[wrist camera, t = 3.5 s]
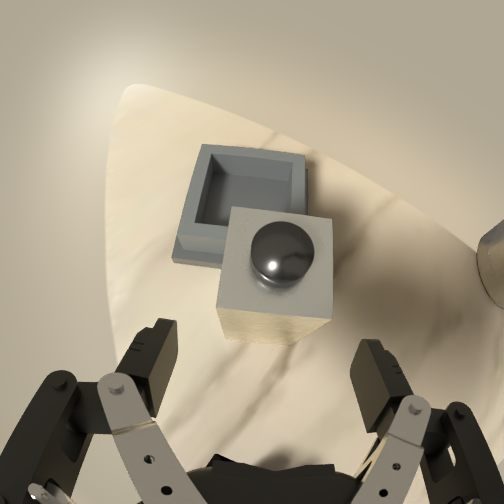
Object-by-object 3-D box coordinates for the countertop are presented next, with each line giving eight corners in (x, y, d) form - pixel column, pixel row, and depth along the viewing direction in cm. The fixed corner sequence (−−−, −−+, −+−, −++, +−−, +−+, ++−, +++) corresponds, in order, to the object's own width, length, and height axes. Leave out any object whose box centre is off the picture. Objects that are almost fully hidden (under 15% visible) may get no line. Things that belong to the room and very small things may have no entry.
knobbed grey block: (292, 286, 22) (338, 207, 12) (288, 345, 20) (340, 313, 10) (233, 279, 22) (231, 193, 12) (225, 339, 20) (213, 300, 10)
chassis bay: (305, 175, 26) (313, 150, 23) (303, 278, 22) (314, 260, 19) (198, 163, 26) (195, 137, 23) (174, 262, 22) (164, 243, 19)
